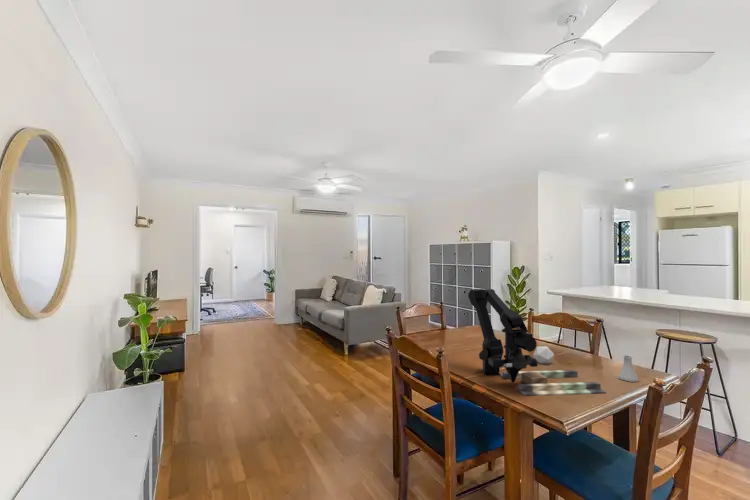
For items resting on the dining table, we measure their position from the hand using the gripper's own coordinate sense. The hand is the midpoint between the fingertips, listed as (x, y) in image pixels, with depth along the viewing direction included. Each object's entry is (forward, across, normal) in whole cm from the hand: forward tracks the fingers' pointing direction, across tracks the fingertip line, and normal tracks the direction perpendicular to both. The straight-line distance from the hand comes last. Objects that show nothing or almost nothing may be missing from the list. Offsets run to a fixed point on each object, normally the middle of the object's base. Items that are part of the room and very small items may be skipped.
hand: (512, 382), depth 142 cm
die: (+1, +28, +26) cm, 38 cm away
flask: (+1, +52, +2) cm, 52 cm away
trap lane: (+1, +16, 0) cm, 16 cm away
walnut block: (+1, +9, 0) cm, 9 cm away
